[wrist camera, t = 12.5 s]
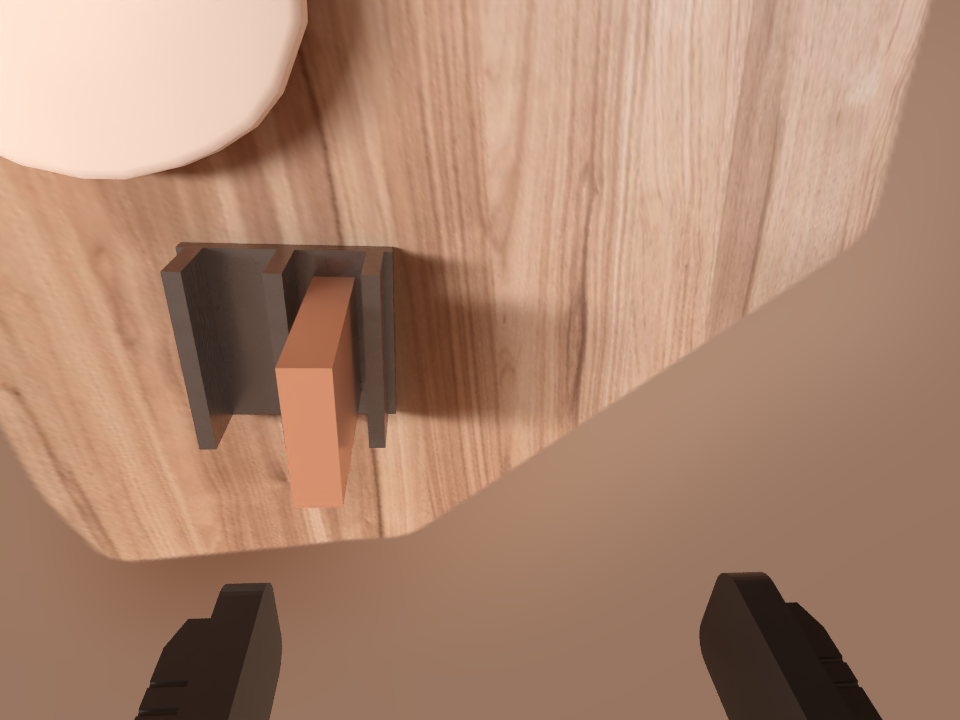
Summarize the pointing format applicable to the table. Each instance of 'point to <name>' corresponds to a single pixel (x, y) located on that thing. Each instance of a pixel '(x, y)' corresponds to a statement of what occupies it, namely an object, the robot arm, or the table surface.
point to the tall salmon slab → (321, 392)
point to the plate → (139, 80)
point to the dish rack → (271, 325)
